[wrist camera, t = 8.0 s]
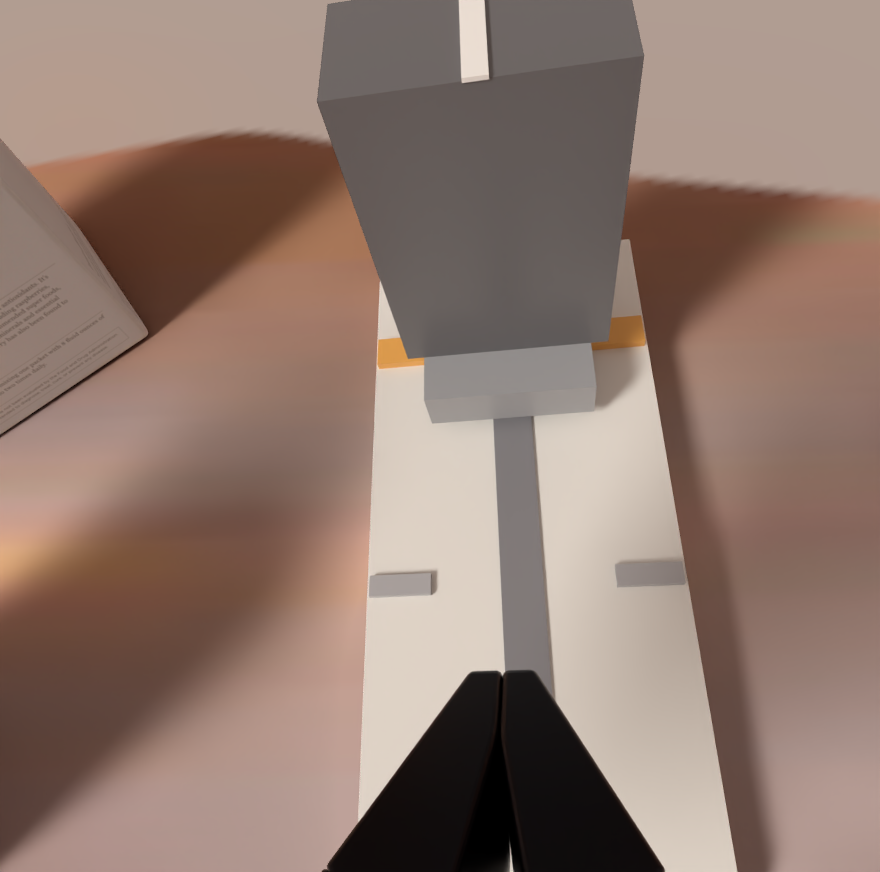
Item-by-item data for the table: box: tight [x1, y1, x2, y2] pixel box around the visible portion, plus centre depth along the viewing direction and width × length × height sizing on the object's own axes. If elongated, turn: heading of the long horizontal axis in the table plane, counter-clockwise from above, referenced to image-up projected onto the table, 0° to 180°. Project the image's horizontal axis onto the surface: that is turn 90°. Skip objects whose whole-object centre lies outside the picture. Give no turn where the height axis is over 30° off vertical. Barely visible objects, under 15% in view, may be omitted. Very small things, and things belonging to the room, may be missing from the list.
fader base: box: [358, 239, 737, 872], centre depth 21 cm, size 20×9×2 cm, turn 0°
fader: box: [317, 0, 644, 424], centre depth 18 cm, size 6×6×11 cm
